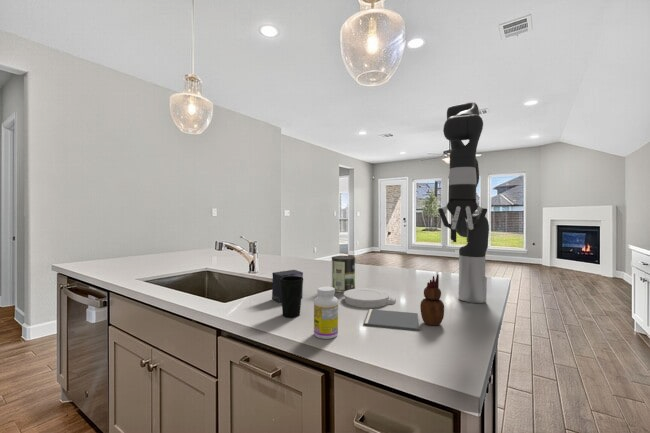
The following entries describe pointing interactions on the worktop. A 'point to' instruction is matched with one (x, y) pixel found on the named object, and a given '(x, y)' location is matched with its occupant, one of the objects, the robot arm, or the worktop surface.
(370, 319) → the book
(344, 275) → the coffee can
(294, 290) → the cup
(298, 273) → the small box
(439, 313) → the wooden figurine
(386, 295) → the lid
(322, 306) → the supplement bottle
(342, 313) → the worktop surface
